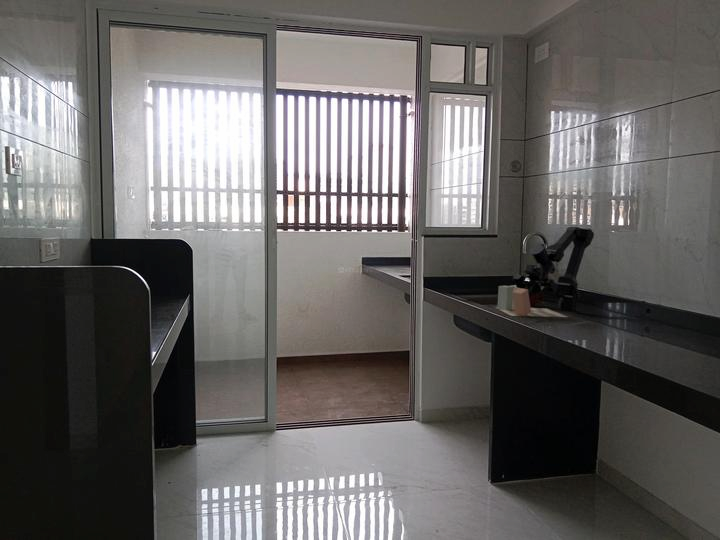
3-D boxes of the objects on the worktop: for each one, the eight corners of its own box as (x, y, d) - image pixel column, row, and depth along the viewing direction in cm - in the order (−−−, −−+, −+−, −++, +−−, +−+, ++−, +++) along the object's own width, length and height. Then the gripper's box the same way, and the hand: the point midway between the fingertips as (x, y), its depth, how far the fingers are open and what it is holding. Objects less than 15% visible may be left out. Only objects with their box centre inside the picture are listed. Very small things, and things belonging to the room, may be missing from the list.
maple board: (546, 310, 254) (546, 308, 254) (568, 319, 231) (568, 317, 231) (494, 309, 252) (494, 306, 252) (510, 317, 229) (511, 315, 229)
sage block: (503, 307, 250) (505, 285, 249) (512, 309, 247) (513, 286, 246) (497, 308, 247) (498, 286, 246) (505, 310, 244) (507, 287, 243)
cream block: (514, 307, 253) (516, 285, 253) (523, 308, 250) (524, 286, 249) (508, 307, 251) (509, 285, 250) (517, 309, 247) (518, 286, 246)
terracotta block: (521, 310, 235) (518, 288, 232) (531, 311, 232) (527, 289, 229) (515, 314, 233) (512, 292, 230) (524, 316, 229) (521, 293, 226)
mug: (540, 306, 265) (541, 285, 264) (545, 309, 257) (547, 287, 256) (518, 306, 265) (519, 285, 264) (522, 308, 257) (524, 287, 256)
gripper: (516, 256, 241) (498, 282, 235) (555, 259, 227) (537, 287, 221) (526, 274, 247) (509, 300, 241) (564, 278, 232) (547, 306, 226)
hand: (524, 298), depth 232 cm, fingers closed
